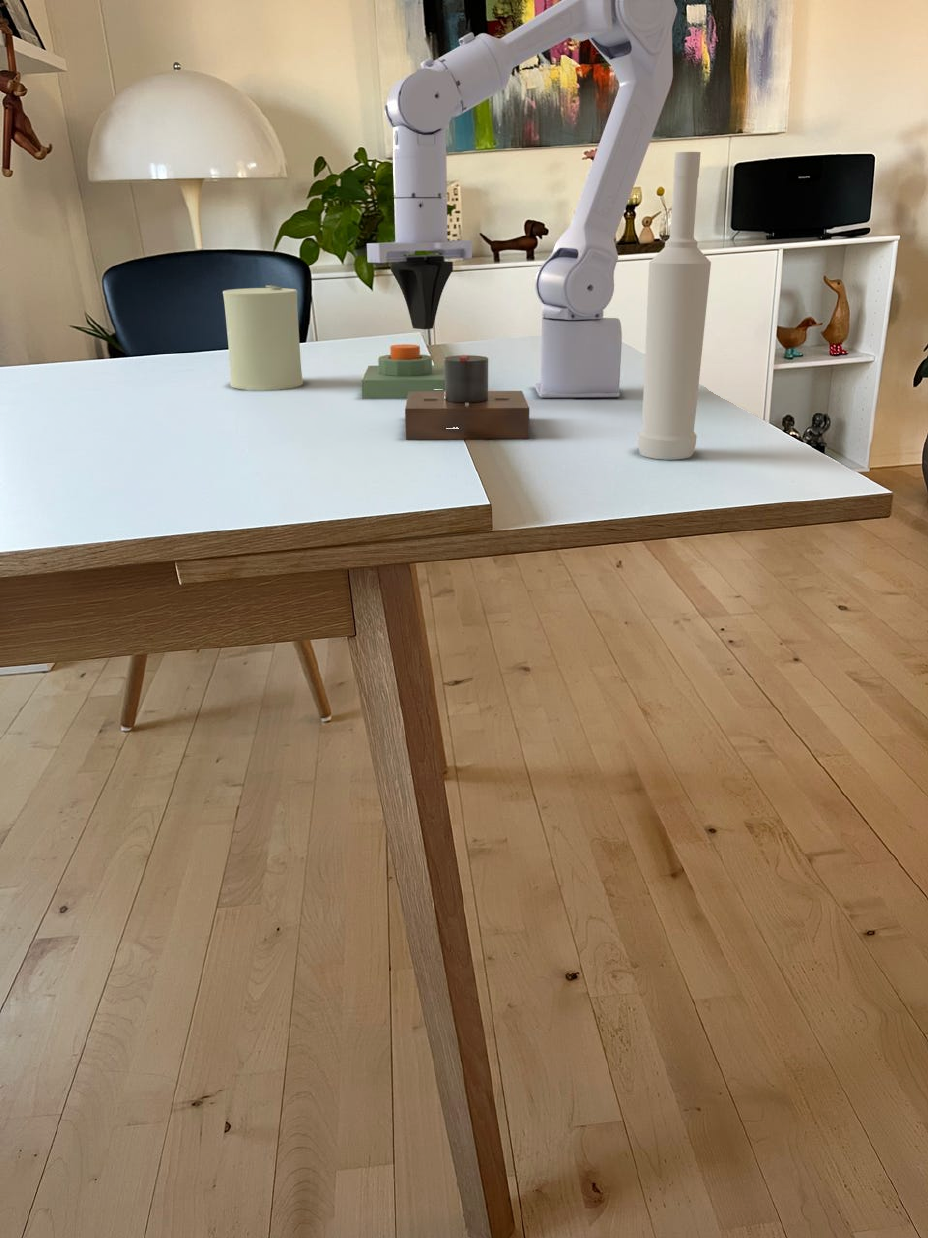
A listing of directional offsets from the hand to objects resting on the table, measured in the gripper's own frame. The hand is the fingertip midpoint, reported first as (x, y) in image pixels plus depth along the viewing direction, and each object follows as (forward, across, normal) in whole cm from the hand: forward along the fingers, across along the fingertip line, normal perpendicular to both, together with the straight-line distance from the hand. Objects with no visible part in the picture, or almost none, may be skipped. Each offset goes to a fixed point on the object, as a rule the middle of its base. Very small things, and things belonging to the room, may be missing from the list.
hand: (422, 328), depth 114 cm
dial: (+5, -8, -14) cm, 17 cm away
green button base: (+8, +4, +7) cm, 12 cm away
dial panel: (+8, -8, -14) cm, 18 cm away
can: (+8, -4, +24) cm, 26 cm away
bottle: (+8, -5, -36) cm, 37 cm away
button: (+5, +4, +7) cm, 10 cm away
